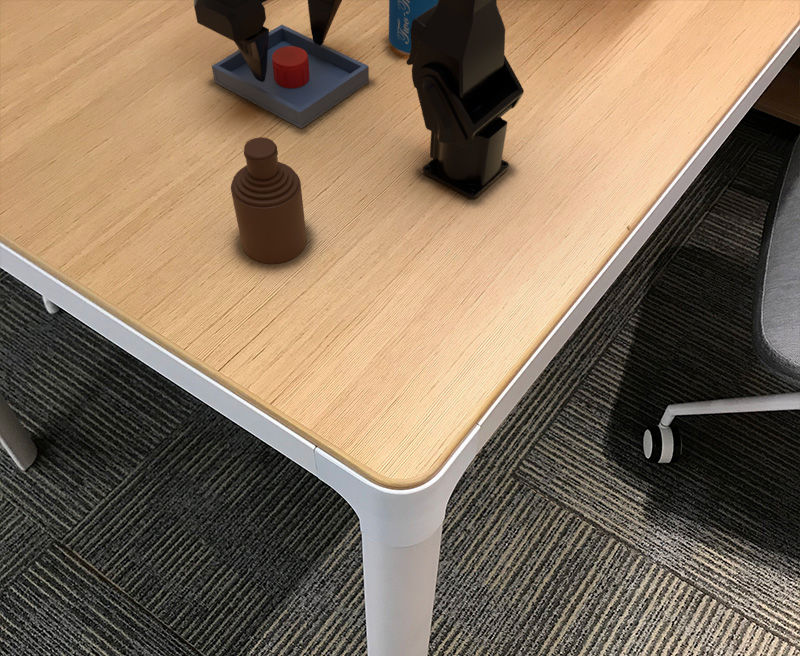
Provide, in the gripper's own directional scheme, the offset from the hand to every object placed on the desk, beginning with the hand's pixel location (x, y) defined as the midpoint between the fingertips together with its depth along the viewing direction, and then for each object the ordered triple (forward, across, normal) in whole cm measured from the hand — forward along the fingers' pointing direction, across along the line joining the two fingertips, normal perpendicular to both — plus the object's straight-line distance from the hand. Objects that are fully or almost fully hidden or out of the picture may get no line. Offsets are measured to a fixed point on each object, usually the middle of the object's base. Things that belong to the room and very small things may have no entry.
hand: (289, 61), depth 84 cm
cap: (0, 0, 0) cm, 0 cm away
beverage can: (+3, -15, +6) cm, 16 cm away
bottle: (+2, +20, +16) cm, 25 cm away
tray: (+2, 0, 0) cm, 2 cm away
